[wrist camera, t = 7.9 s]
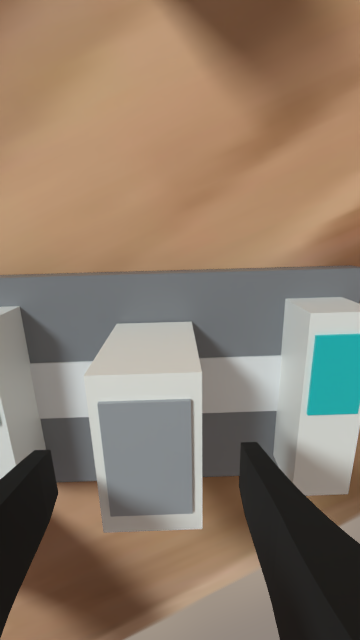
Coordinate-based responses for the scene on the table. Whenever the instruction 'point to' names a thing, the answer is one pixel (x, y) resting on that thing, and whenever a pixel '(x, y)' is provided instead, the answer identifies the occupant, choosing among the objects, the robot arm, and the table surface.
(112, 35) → the table surface
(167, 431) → the block
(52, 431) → the rail board
